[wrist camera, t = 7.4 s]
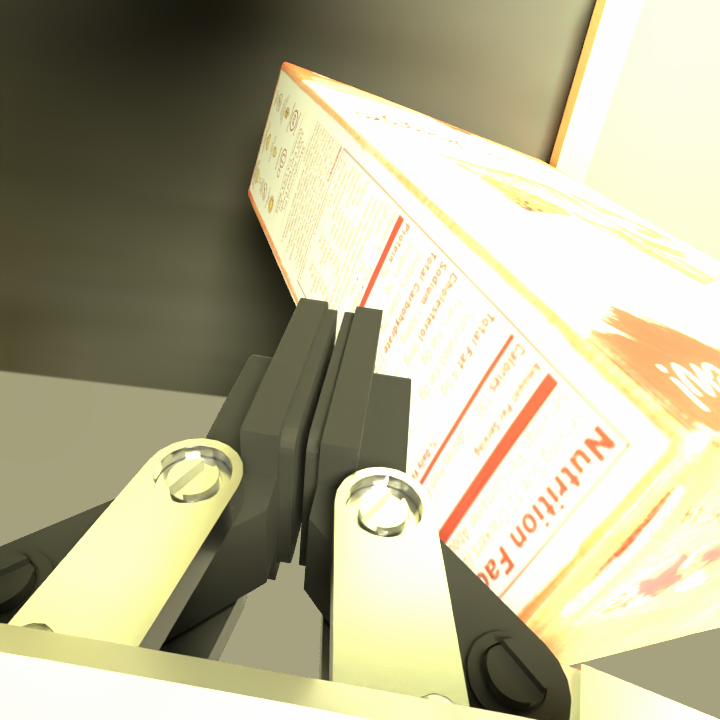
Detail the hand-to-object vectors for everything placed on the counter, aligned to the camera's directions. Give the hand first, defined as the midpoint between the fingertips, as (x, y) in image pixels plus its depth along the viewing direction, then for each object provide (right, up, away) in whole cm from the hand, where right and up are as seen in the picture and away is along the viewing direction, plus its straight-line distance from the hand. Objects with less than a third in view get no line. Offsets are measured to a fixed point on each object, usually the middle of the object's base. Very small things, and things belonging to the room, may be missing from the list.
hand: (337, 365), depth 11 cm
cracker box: (+2, +9, +14) cm, 17 cm away
